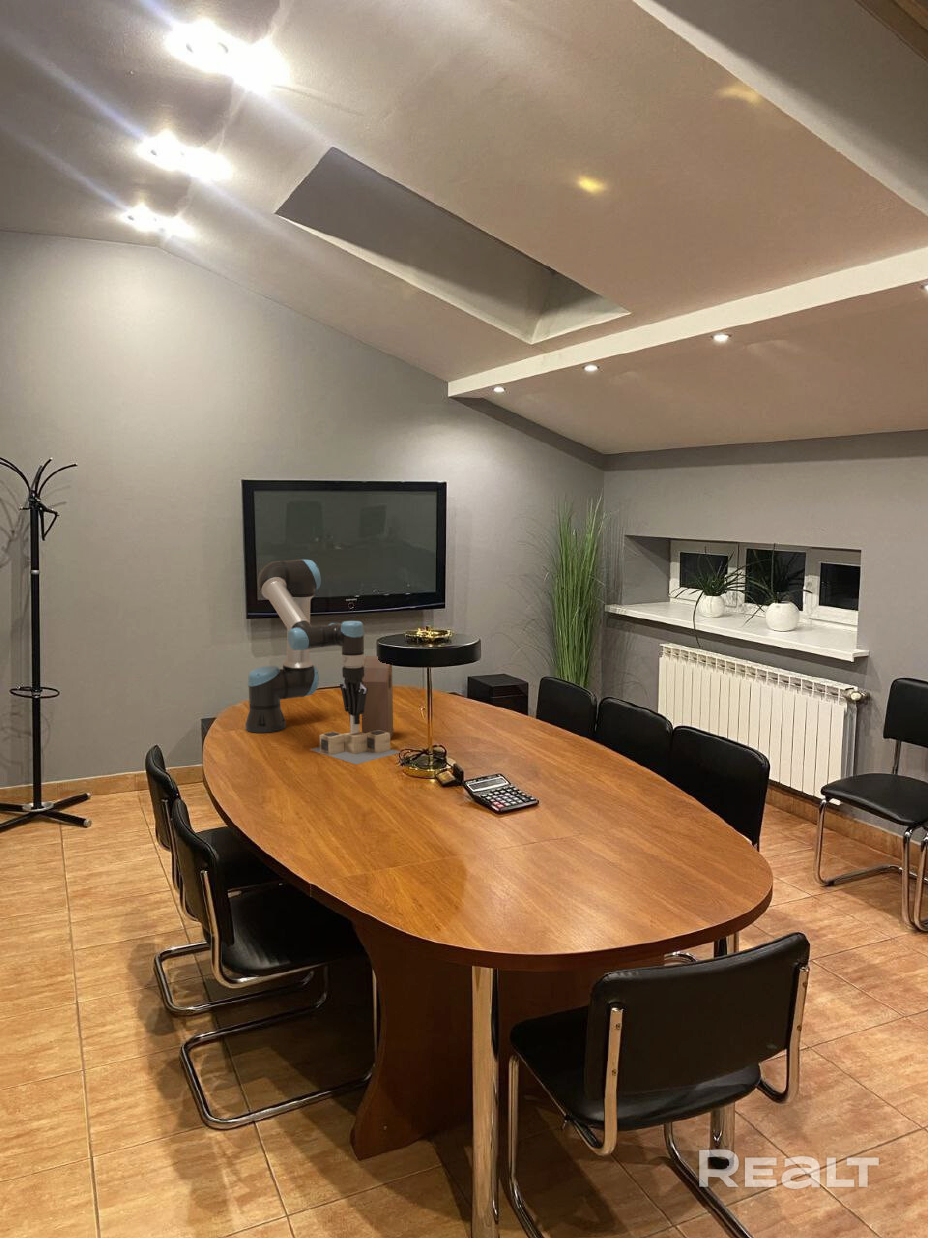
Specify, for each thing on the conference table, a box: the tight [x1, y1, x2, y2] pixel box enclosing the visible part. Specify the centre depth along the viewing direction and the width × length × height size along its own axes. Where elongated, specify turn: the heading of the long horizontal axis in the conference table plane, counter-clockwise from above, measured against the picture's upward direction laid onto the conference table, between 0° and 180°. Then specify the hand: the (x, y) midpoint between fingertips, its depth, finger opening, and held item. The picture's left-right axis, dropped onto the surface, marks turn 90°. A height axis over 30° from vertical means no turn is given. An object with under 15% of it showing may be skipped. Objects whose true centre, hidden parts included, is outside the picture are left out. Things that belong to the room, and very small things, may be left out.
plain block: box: [342, 731, 367, 754], centre depth 323 cm, size 6×6×6 cm
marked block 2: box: [366, 730, 391, 753], centre depth 324 cm, size 6×6×6 cm
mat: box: [309, 746, 402, 765], centre depth 324 cm, size 26×20×1 cm
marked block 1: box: [319, 731, 344, 755], centre depth 322 cm, size 6×6×6 cm
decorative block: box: [361, 655, 394, 739], centre depth 339 cm, size 10×10×30 cm
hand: (354, 732), depth 323 cm, fingers closed
